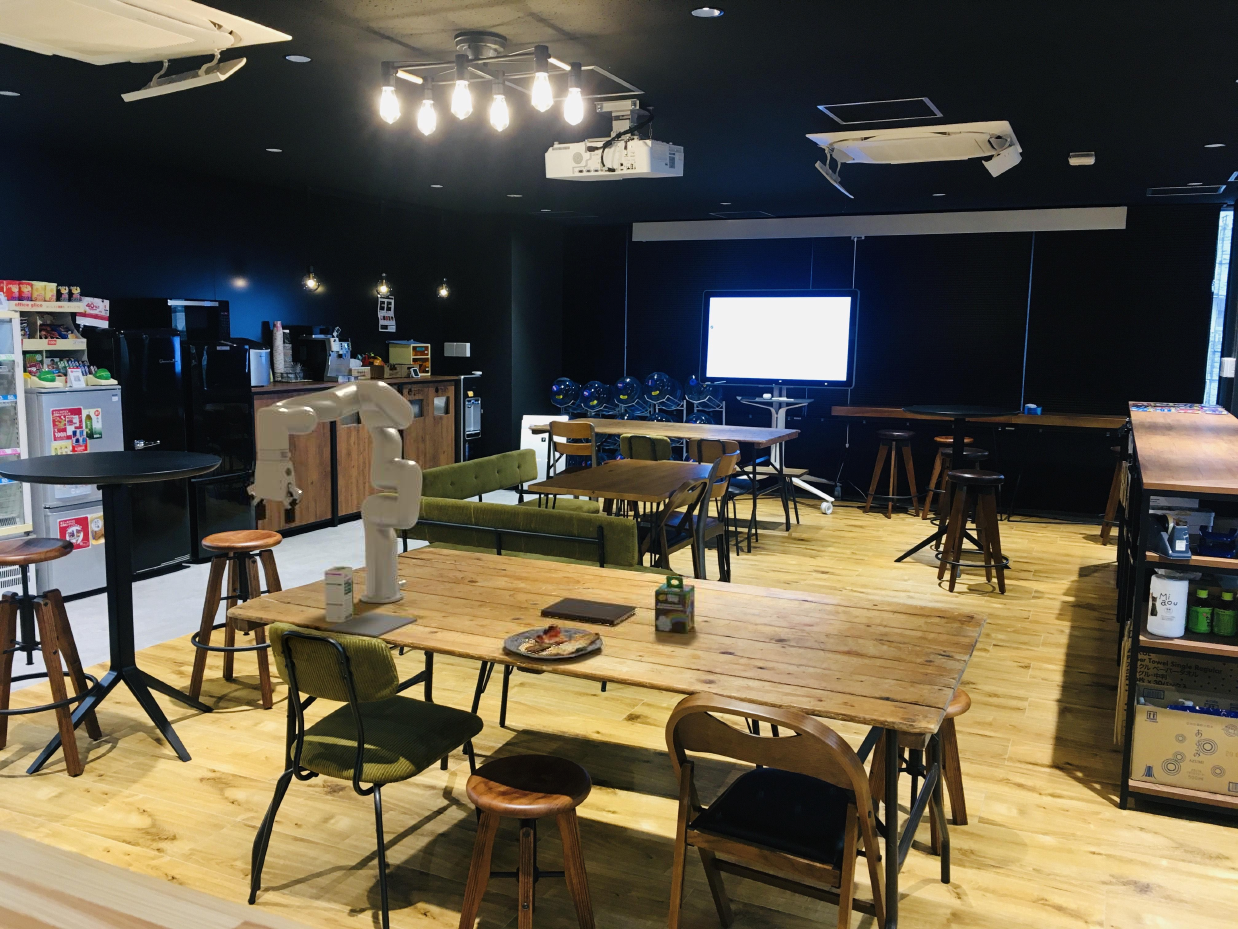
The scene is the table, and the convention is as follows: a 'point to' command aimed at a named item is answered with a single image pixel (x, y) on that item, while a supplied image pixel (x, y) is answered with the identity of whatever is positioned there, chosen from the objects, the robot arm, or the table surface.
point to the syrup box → (339, 594)
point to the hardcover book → (588, 611)
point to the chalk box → (674, 606)
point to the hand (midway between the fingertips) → (275, 521)
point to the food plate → (555, 642)
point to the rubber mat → (372, 624)
